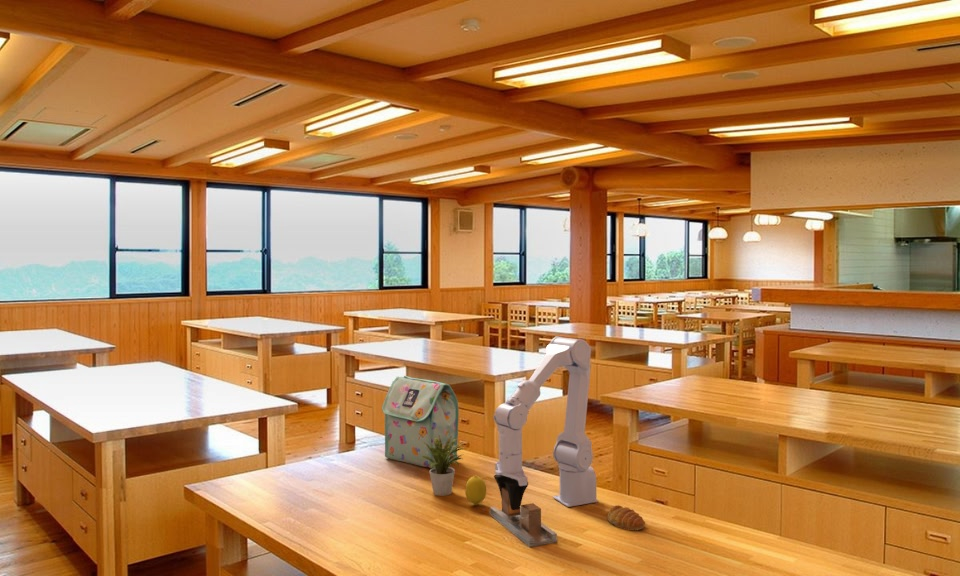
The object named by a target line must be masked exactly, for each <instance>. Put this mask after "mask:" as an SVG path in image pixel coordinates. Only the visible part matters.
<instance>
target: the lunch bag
mask: <svg viewBox="0 0 960 576" xmlns="http://www.w3.org/2000/svg"><path fill="white" fill-rule="evenodd" d="M457 398H458V397H457V396H456V393H455V392H454V389H452V386H451V385H450V384H448V383H444V382H439V381H434V380H431V379H425V378H422V379H421V378H417V377H416V378H415V377H410V376H407V375H404V376H396V377H395V378H394V380H392V382H391V384H390V386H389V389H388V391H387V393H386V396H385V398H384V401H383V404H382V406H381V410H382V412H383V414H384V457H385V459H386V458H387V459H391V460H394V461H398V462H404V463H407V464H411V465H416V466H419V467H424V468H430V466H431V461H430V460H428V459H425V458H421V456H427V457H429V458H431V459H432V460H433V461H434V462H435V463H436V461H435V459H434V457H433V456H432V455H433V454H432V452H431V451H430V450H429V448H428V447H427V445H426V444H425V443H427V444H428V445H429V446H430V447H433V448H435V444H434V443H435V437H437V439H438V441H439V436H440V439H441V442H442V449H444V446H445V444H446V443H447V441H448V439H449V438H450V436H451V435H452V437H451V440H450V443H451V442H452V441H453V440H454V439H456V438H457V440H456V441H455V442H454V445H453V447H452V448H451V450H452V449H453V448H454V446H457V445H458V440H459V439H458V436H459V417H460V413H459V411H460V410H459V402H458V401H459V400H458V399H457ZM424 442H425V443H424ZM450 443H449V444H450ZM426 448H427V449H428V450H429V451H430V452H431V453H430V452H429V451H428V450H427V449H426ZM456 448H457V447H456ZM456 448H455V449H456ZM455 449H454V450H455ZM457 449H458V448H457ZM451 450H450V451H451ZM453 455H458V451H456V452H454V453H453V454H452V455H450V456H453ZM450 456H449V457H450ZM457 457H458V456H455V457H453V458H452V459H451V460H453V459H454V458H457ZM448 459H449V458H448ZM451 460H450V461H451ZM450 461H449V462H450ZM456 461H457V462H458V460H456ZM433 468H435V465H434V467H432V468H431V469H433Z"/></svg>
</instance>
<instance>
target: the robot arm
mask: <svg viewBox="0 0 960 576" xmlns="http://www.w3.org/2000/svg"><path fill="white" fill-rule="evenodd" d="M545 350H546V351H545V352H546V354H545V355H544V357H543V358H542V359H541V360H540V362H539V364H538V366H537V367H536V369H535V370H534V371H533V373H532V375H531V376H530V377H529V379H527V380H522V381H521V382H519V383H518V384H517V388H516V389H515V390H514V391H513V393H512V394H511V395H510V397H509V398H507V400H506V402H504V403H501V404H500V405H499V406H497V408H496V409H495V413H494V414H493V421H494V423H495V424H496V425H497V426H496V427H497V431H498V460H499V461H497V462H494V466H495V467H494V469H495V471H494V475H493V478H494V480H495V482H496V484H497V486H498V489H499V493H500V499H502V488H504V487H507V490H508V493H509V499H510V506H511V509H512V510H517V509H520V507H521V505H522V500H523V497H524V493H525V492H526V489H527V488H528V486H529V481H528V476H526V473H525V471H524V469H523V427H524V426H525V425H526V423H527V421H528V415H529V412H530V409H531V408H532V407H533V405H534V404H536V402H537V400H538V399H539V397H540V396H541V387H543V385H544V384H545V383H546V381H547V380H549V378H551V376H552V375H553V374H554V372H556V370H557V369H558V368H559V367H564V368H565V369H566V370H567V371H568V372H569V378H568V387H567V397H566V408H565V410H566V411H565V419H564V428H563V429H564V430H563V431H562V432H561V433H559V434H558V435H557V436H556V443H555V444H554V448H553V451H552V456H553V459H554V460H555V462H556V463H557V467H558V468H559V494H557V495H553V496H552V498H553V499H555V500H556V501H558V502H559V503H561V504H562V505H564V506H565V507H566V508H567V507H568V508H570V507H575V506H580V505H582V506H583V505H586V504H593V503H598V502H599V500H598V498H597V475H596V471H595V469H594V468H593V467H592V466H591V465H592V463H593V459H594V455H593V449H592V446H593V445H592V443H593V442H592V441H591V440H590V437H588V436H587V434H586V433H585V432H586V423H587V421H586V420H587V411H588V402H589V401H588V399H589V391H590V390H589V389H590V380H591V379H590V378H591V367H592V366H591V354H592V347H591V346H590V345H589V344H588V342H587V341H586V340H585V339H582V338H578V339H577V338H570V337H562V336H555V337H553V338H552V339H551V341H550V342H549V343H548V345H547V346H546V349H545Z"/></svg>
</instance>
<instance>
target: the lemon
mask: <svg viewBox="0 0 960 576" xmlns="http://www.w3.org/2000/svg"><path fill="white" fill-rule="evenodd" d="M464 491H465V496H466V499H467V500H468V502H470V503H471V504H473V505H474V506H478V505H479V504H480V503H482V502H483V501H484V500H485V498H486V496H487V486H486V483H485V481H484V479H482V477H480V476H478V475H473V476H472V477H470V478H469V479H468V480H467V482H466V484H465V490H464Z"/></svg>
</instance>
